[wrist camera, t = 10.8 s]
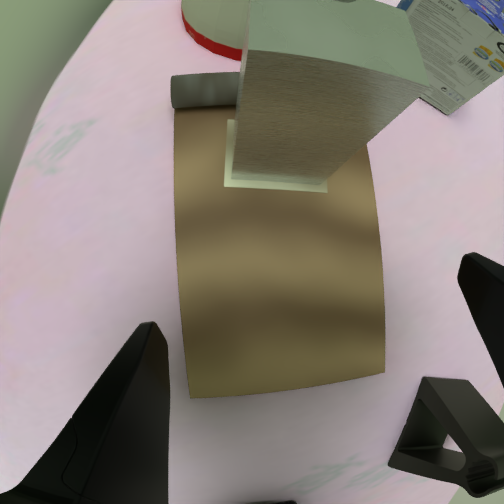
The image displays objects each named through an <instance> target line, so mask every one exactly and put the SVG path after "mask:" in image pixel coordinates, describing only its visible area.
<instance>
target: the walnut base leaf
mask: <svg viewBox="0 0 504 504" xmlns="http://www.w3.org/2000/svg"><path fill="white" fill-rule="evenodd" d="M239 75H240V72H221V73H201V74H187V75H176V76H172V77H171V102H172V107H173V108H175V112H174V204H175V233H176V254H177V271H178V286H179V299H180V311H181V322H182V333H183V342H184V352H185V361H186V369H187V377H188V385H189V393H190V398H210V397H226V396H239V395H251V394H261V393H270V392H278V391H286V390H293V389H300V388H307V387H313V386H319V385H325V384H331V383H336V382H342V381H347V380H352V379H357V378H361V377H366V376H371V375H375V374H379V373H384V372H385V306H384V284H383V268H382V255H381V244H380V234H379V224H378V216H377V208H376V200H375V193H374V186H373V179H372V173H371V167H370V161H369V155H368V150H367V144H365V145H364V146H363V147H362V148H361V149H360V150H359V151H358V152H357V153H355V154H354V155H353V156H352V157H351V158H350V159H349V160H348V161H346V162H345V163H344V164H343V165H342V166H341V167H340V168H339V169H337V170H336V171H335V172H334V173H333V174H332V175H331V176H330V177H329V178H327V179H326V180H325V181H324V182H323V183H322V184H321V185H310V184H298V183H286V182H271V181H255V180H237V179H231V172H232V153H233V135H234V121H235V111H236V102H237V93H238V84H239Z"/></svg>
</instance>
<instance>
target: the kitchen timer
mask: <svg viewBox="0 0 504 504" xmlns="http://www.w3.org/2000/svg"><path fill="white" fill-rule="evenodd" d="M248 4H249V0H182V4H181V9H182V18H183V22H184V25H185V28H186V31H187V32H188V33H189V34H190V36H191V37H192V38H193V39H194V40H195V41H196V42H197V43H198V44H200V45H201V46H203V47H205V48H206V49H208V50H210V51H211V52H213V53H215V54H218V55H221V56H224V57H227V58H230V59H233V60H237V61H241V58H242V50H243V42H244V34H245V26H246V19H247V11H248Z"/></svg>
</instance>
